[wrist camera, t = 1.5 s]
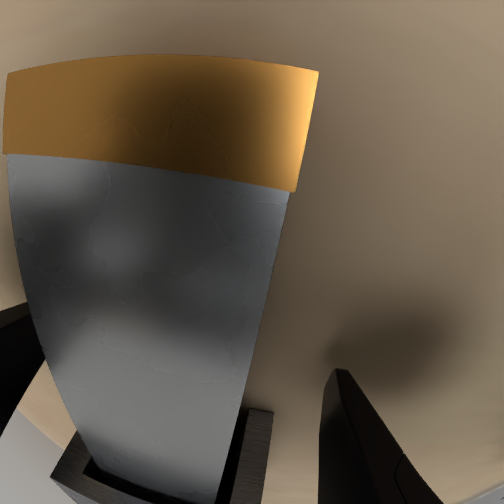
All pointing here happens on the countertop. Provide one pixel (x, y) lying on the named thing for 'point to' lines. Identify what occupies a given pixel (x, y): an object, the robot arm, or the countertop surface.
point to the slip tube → (152, 246)
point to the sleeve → (111, 500)
